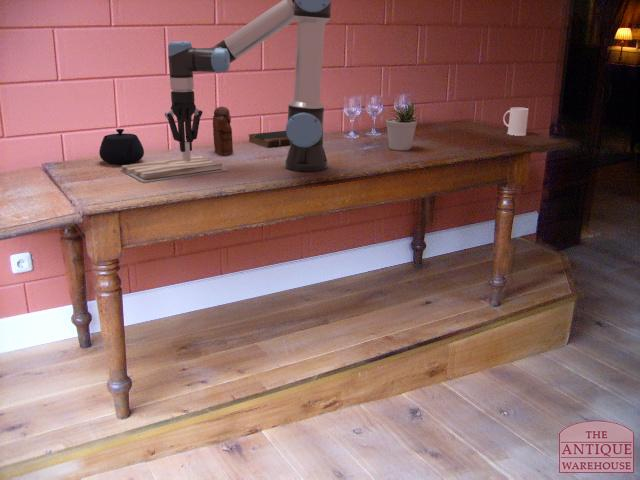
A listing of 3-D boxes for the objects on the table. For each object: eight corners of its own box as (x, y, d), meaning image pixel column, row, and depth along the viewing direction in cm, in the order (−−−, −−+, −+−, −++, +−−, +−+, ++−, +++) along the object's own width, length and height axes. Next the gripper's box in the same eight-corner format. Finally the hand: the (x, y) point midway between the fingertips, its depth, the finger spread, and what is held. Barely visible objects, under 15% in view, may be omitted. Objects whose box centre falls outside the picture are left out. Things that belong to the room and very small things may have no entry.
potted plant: (402, 153, 263) (405, 102, 256) (378, 148, 273) (380, 99, 266) (423, 149, 270) (427, 100, 264) (399, 144, 280) (402, 96, 274)
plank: (222, 168, 230) (222, 164, 230) (145, 179, 214) (145, 174, 214) (207, 163, 238) (207, 159, 238) (133, 173, 223) (132, 168, 222)
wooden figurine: (236, 155, 255) (234, 108, 249) (220, 156, 253) (218, 109, 247) (227, 149, 265) (225, 104, 259) (211, 150, 263) (209, 105, 257)
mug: (497, 133, 311) (500, 107, 307) (508, 131, 316) (510, 105, 312) (519, 136, 302) (522, 110, 298) (529, 134, 308) (532, 108, 304)
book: (296, 137, 296) (247, 142, 283) (296, 129, 295) (247, 134, 282) (318, 143, 283) (268, 149, 269) (318, 135, 282) (268, 140, 268)
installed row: (209, 163, 240) (209, 159, 239) (129, 173, 223) (129, 169, 222) (200, 159, 245) (200, 155, 244) (122, 169, 228) (121, 165, 227)
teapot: (92, 159, 246) (88, 126, 242) (132, 154, 254) (130, 122, 250) (112, 172, 226) (109, 136, 222) (156, 167, 234) (154, 132, 230)
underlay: (228, 170, 230) (228, 169, 230) (143, 183, 213) (143, 181, 212) (201, 160, 245) (201, 159, 245) (120, 171, 228) (120, 169, 228)
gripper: (195, 88, 223) (199, 156, 231) (159, 90, 216) (164, 161, 224) (205, 90, 218) (209, 160, 225) (168, 92, 210) (173, 165, 218)
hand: (186, 160), depth 224 cm, fingers closed
